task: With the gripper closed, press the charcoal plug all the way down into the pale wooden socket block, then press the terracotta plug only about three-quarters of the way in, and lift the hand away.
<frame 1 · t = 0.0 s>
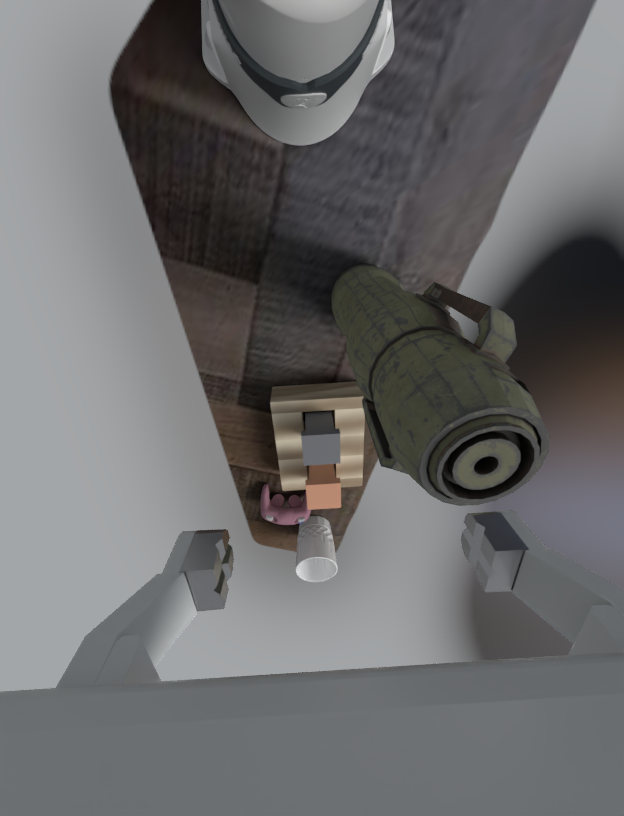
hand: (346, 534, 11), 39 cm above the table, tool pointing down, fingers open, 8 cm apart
thermos: (361, 296, 45), on the table
terracotta plug: (322, 481, 52), point 8 cm above the table, slide at 0.0 cm
socket block: (318, 430, 56), on the table
white cup: (314, 525, 69), on the table
charcoal plug: (320, 435, 47), point 8 cm above the table, slide at 0.0 cm
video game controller: (286, 492, 64), on the table
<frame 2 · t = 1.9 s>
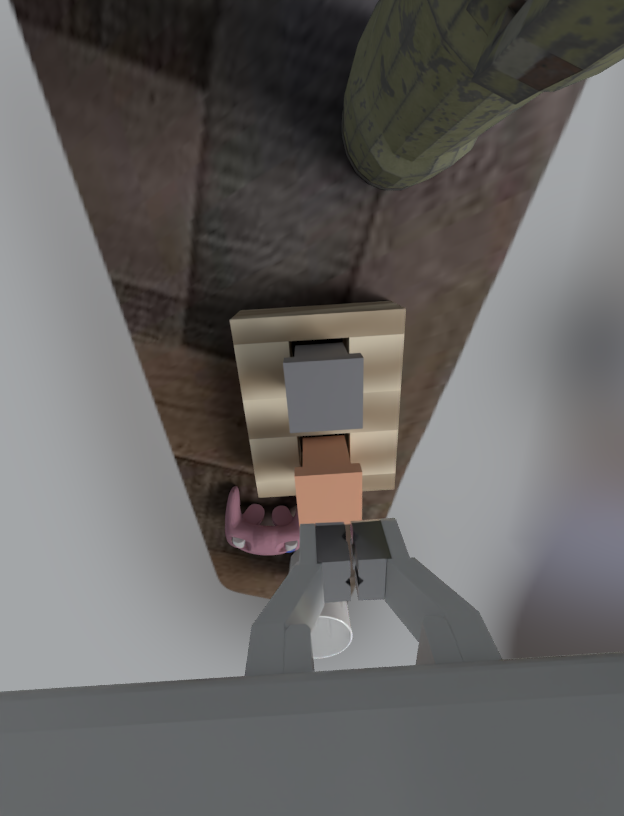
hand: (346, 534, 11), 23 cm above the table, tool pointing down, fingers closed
thermos: (397, 123, 25), on the table
terracotta plug: (326, 474, 29), point 8 cm above the table, slide at 0.0 cm
socket block: (319, 394, 34), on the table
white cup: (313, 559, 45), on the table
charcoal plug: (322, 380, 25), point 8 cm above the table, slide at 0.0 cm
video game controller: (269, 502, 40), on the table
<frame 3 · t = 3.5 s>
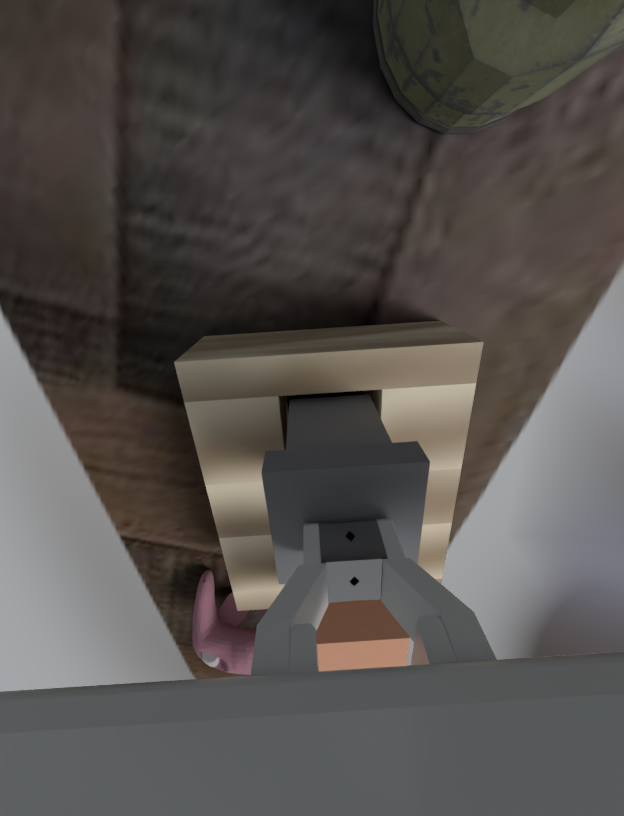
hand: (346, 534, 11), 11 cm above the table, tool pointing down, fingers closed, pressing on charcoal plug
thermos: (475, 4, 13), on the table
terracotta plug: (341, 603, 18), point 8 cm above the table, slide at 0.0 cm
socket block: (328, 455, 23), on the table
charcoal plug: (337, 469, 14), point 8 cm above the table, slide at 0.1 cm, touching gripper
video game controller: (257, 586, 29), on the table
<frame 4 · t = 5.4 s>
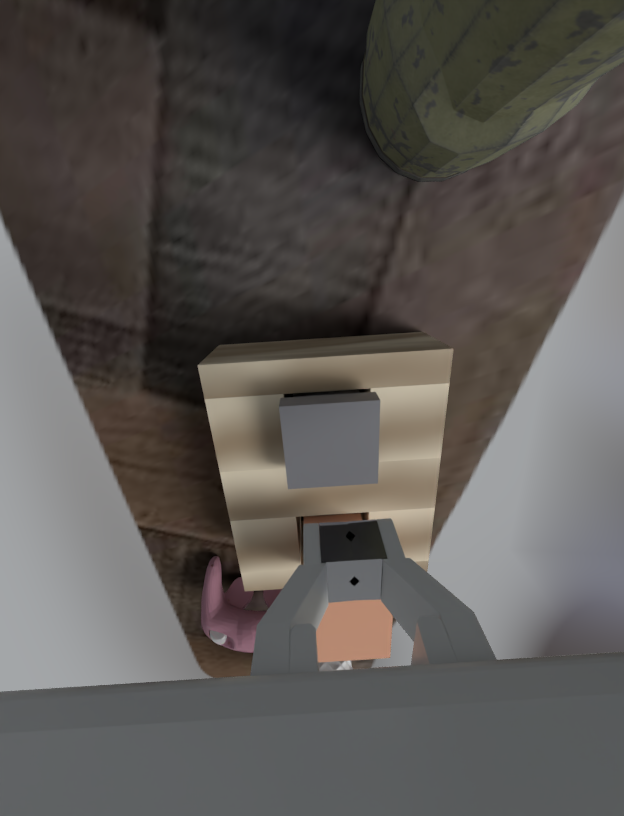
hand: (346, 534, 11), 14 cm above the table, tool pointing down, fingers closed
thermos: (439, 84, 17), on the table
terracotta plug: (337, 576, 20), point 8 cm above the table, slide at 0.0 cm
socket block: (326, 450, 26), on the table
charcoal plug: (327, 420, 21), point 4 cm above the table, slide at 4.2 cm
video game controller: (260, 573, 32), on the table
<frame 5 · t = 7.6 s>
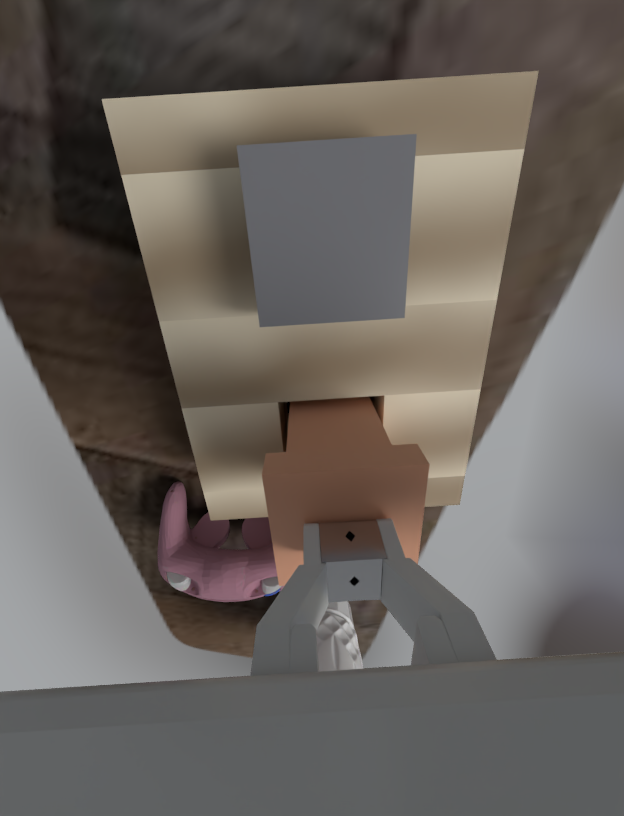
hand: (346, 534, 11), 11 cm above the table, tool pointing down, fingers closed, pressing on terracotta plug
terracotta plug: (337, 471, 14), point 7 cm above the table, slide at 0.6 cm, touching gripper
socket block: (322, 332, 19), on the table
white cup: (312, 604, 30), on the table
charcoal plug: (323, 243, 13), point 4 cm above the table, slide at 4.2 cm
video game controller: (239, 508, 25), on the table
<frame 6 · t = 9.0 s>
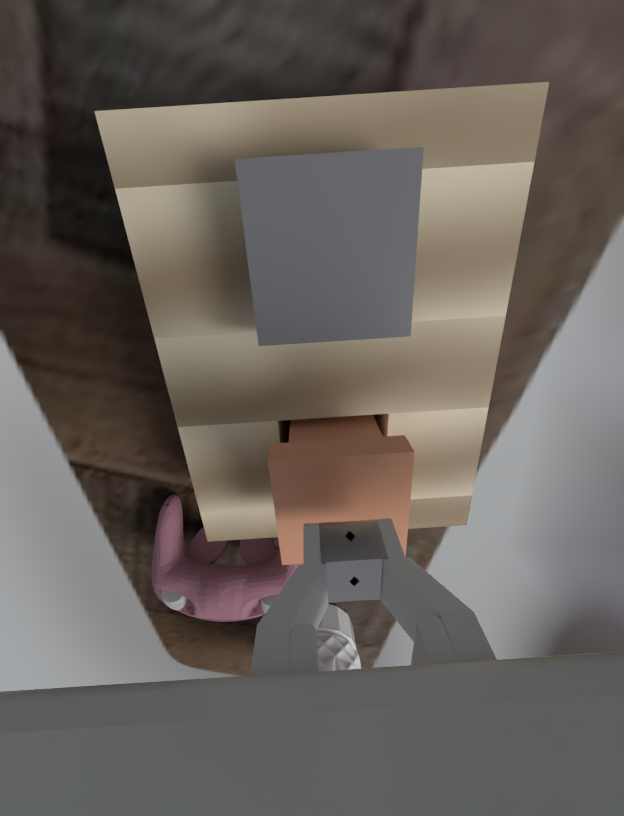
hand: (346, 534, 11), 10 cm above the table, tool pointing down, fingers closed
terracotta plug: (334, 463, 16), point 5 cm above the table, slide at 2.8 cm
socket block: (324, 346, 18), on the table
white cup: (313, 622, 29), on the table
charcoal plug: (325, 258, 13), point 4 cm above the table, slide at 4.2 cm
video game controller: (237, 521, 24), on the table
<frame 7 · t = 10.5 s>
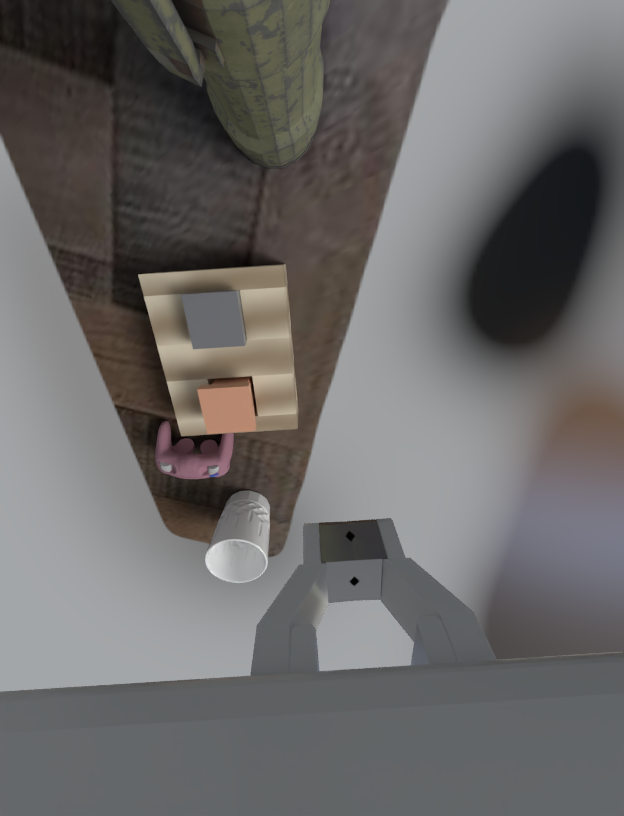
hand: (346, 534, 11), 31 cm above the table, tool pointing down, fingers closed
thermos: (272, 112, 30), on the table
terracotta plug: (233, 398, 37), point 5 cm above the table, slide at 2.8 cm
socket block: (235, 348, 39), on the table
white cup: (248, 506, 50), on the table
charcoal plug: (221, 315, 34), point 4 cm above the table, slide at 4.2 cm
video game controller: (200, 438, 45), on the table
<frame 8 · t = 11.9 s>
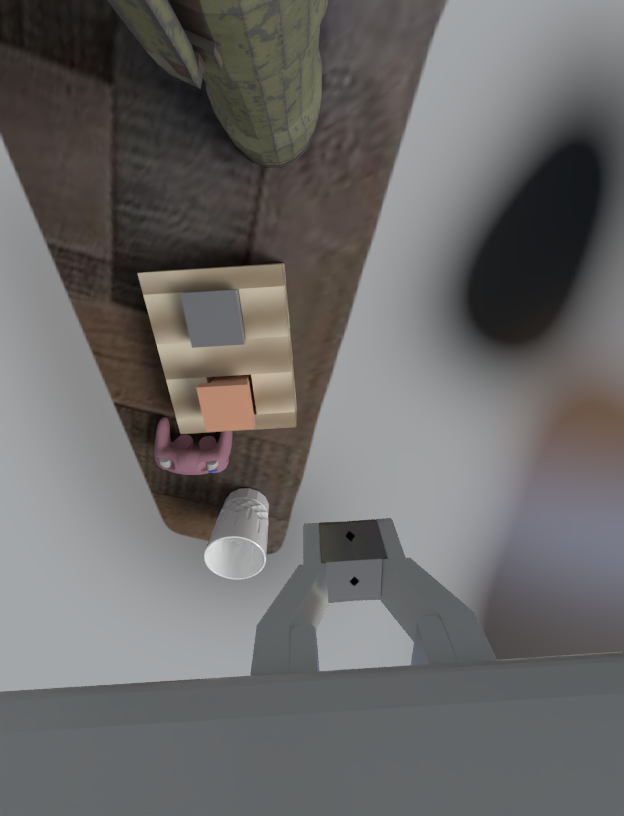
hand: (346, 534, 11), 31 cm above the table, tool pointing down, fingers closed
thermos: (271, 111, 30), on the table
terracotta plug: (232, 396, 37), point 5 cm above the table, slide at 2.8 cm
socket block: (234, 346, 40), on the table
white cup: (247, 503, 51), on the table
charcoal plug: (220, 314, 34), point 4 cm above the table, slide at 4.2 cm
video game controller: (199, 434, 45), on the table
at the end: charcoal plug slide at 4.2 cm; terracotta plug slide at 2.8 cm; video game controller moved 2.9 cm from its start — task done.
